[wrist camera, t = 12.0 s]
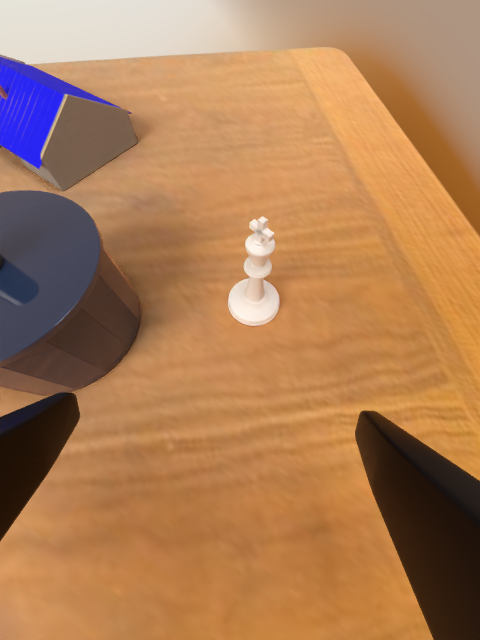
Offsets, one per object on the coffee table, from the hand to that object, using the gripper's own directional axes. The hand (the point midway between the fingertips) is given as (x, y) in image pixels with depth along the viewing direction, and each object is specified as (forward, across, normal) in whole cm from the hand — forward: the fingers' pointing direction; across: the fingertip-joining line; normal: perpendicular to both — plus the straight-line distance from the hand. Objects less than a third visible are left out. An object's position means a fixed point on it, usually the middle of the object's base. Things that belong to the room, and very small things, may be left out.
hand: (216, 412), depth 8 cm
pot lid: (+9, +15, -2) cm, 18 cm away
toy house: (+35, +28, -17) cm, 48 cm away
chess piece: (+17, -2, +1) cm, 17 cm away
